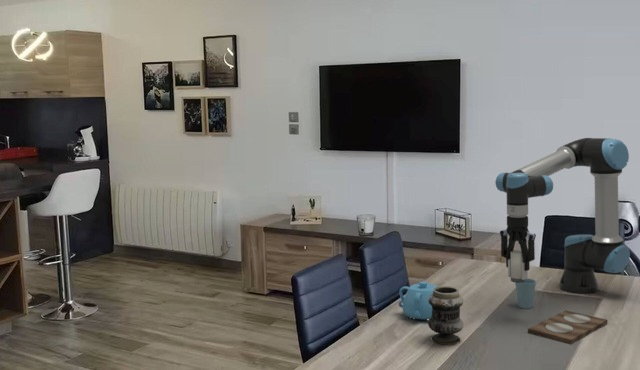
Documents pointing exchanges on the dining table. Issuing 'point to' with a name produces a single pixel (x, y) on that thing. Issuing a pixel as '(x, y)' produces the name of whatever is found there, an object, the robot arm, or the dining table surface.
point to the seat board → (567, 326)
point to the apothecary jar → (445, 314)
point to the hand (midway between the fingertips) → (517, 277)
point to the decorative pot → (417, 300)
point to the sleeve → (516, 266)
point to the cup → (525, 293)
